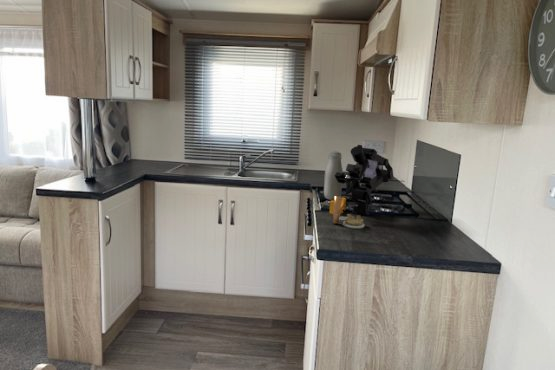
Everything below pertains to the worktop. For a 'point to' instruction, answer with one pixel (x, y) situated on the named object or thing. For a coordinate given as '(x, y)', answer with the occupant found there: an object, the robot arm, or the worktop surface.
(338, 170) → the glass bottle
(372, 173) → the cake pan box
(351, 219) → the bronze dome and bar
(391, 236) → the worktop surface
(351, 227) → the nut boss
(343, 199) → the pipe clamp
